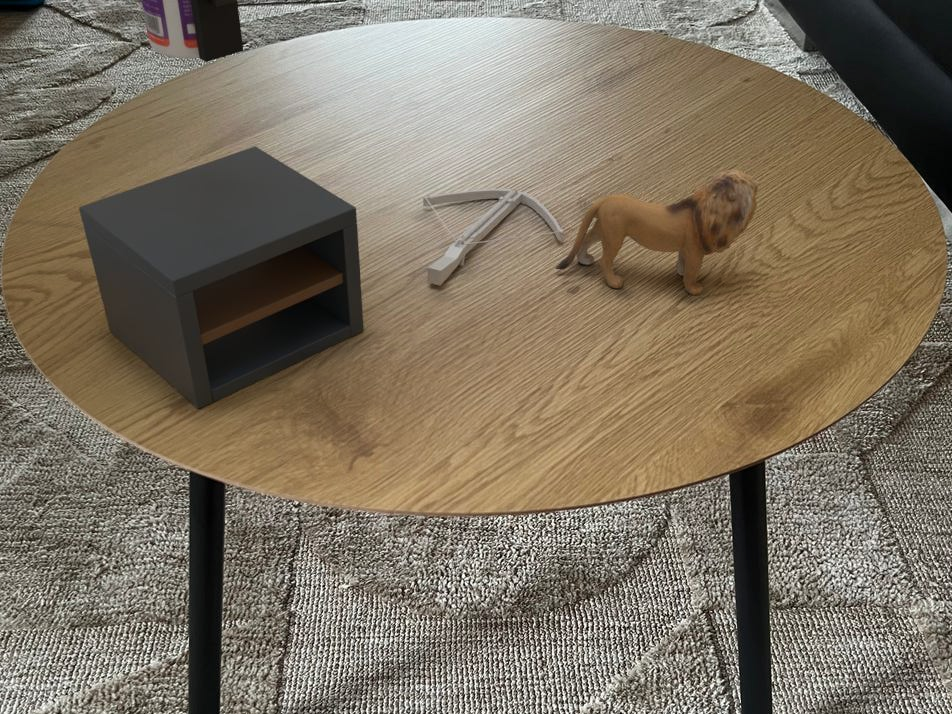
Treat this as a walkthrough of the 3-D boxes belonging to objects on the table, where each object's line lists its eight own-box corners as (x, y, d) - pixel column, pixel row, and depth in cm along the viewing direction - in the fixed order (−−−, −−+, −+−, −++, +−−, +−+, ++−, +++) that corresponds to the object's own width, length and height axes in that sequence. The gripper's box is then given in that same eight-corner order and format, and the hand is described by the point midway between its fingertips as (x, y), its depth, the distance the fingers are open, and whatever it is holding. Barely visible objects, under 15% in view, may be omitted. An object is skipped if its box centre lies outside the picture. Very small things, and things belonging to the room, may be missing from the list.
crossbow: (452, 191, 98) (452, 169, 96) (584, 223, 94) (586, 201, 93) (362, 265, 86) (361, 242, 85) (508, 306, 83) (510, 282, 81)
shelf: (109, 331, 80) (78, 206, 73) (270, 264, 87) (255, 145, 80) (198, 409, 73) (173, 281, 66) (364, 330, 80) (356, 207, 73)
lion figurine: (735, 261, 88) (756, 157, 82) (747, 297, 85) (770, 191, 78) (553, 257, 88) (561, 153, 82) (556, 294, 84) (565, 187, 78)
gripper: (296, -428, 51) (331, 69, 66) (96, -450, 60) (168, -12, 76) (153, -423, 47) (226, 103, 63) (-36, -448, 57) (68, 13, 72)
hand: (194, 39), depth 69 cm, fingers closed on pill bottle, 5 cm apart
